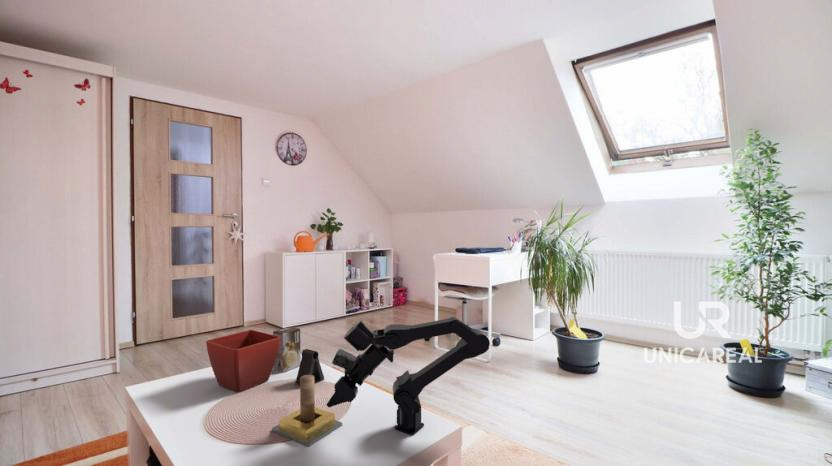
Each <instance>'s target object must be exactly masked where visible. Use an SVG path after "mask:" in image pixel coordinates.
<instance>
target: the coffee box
mask: <svg viewBox="0 0 832 466" xmlns="http://www.w3.org/2000/svg"><path fill="white" fill-rule="evenodd" d="M272 335H275V336H279V337H280V343H279V348H278V353H277V356H276V360H275V363H274V366H273V371H277V372H281V373H286V372H288V371H291V370H294V369H296V368H299V367H300V363H301V359H302V352H301V328H300V327H294V326H288V327H285V328H281V329H277V330H276V329H275V330H273V331H272Z"/></svg>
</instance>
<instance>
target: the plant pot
mask: <svg viewBox="0 0 832 466" xmlns="http://www.w3.org/2000/svg"><path fill="white" fill-rule="evenodd" d="M279 343H280V337H279V336H275V335H273V334H270V333H266V332H262V331H258V330H254V329H247V330H244V331H240V332H236V333H235V332H234V333H232V334H227V335H223V336H218V337H216V338H210V339H207V340H205V344H206V350H207V354H208V359H209V362H210V365H211V366H210V367H211V368H212V372H213V374H214V377H215V380H216V381H217V384H218V385H219V386H220V387H224V388H226V389H228V390H231V391H233V392H235V393H240V392H244V391H246V390H249V389H251V388H254V387H257V386H259V385H261V384H264V383H267V382H268V381H269V379H270V377H271V374H272V371H273V370H274V363H275V360H276V356H277V353H278V348H279Z"/></svg>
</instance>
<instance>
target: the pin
mask: <svg viewBox="0 0 832 466" xmlns="http://www.w3.org/2000/svg"><path fill="white" fill-rule="evenodd" d="M299 388H300V389H299V390H300V391H299V396H300V397H299V398H300V399H299V402H300V404H299V406H300V408H299V410H300V420H301V422H303V423H305V424H308V423H310V422H311V421H313V420H315V403H316V402H315V401H316V400H315V397H316V396H315V395H316V394H315V384H314V376H313V375H304V376H302V377H300V385H299Z"/></svg>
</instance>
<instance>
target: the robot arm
mask: <svg viewBox="0 0 832 466" xmlns="http://www.w3.org/2000/svg"><path fill="white" fill-rule="evenodd" d="M449 334H456V336H458V337H459V338H460V340H459V341H458V342H457V344H456V345H455V346H454V347H452V348H451V349H450V350H448V351H447V352H445V353H443V354H441V356H439V357H438V358H436V359H434V360H433V361H431V362H430V363H428V364H427V365H425V367H423V368H421V369H420V370H419V371H417V372H413V373H410V372H409V370H406V371H405V372H403V374H401V375H399V376H396V379H395V380H394V382H393V383H392V396H393V402H394V403H395V404H396V405H397V409H396V424H397V425H395V426H394V429H395V430H397V431H399V432H402V433H406V434H408V435H412V436H413V435H415V434H416V433H418V431H419V430H421V429H422V428H423V427H424V426H425V423H424V422H422V404H421V401H420V394H421V393H422V391H423V390H424V388H425V387H427V386H428V385H430V384H432V383H433V382H434V381H436V380H437V379H438V378H440V377H441V376H443V375H445V373H446V374H447V372H449V371H450V370H452V369H453V368H455V367H456V366H457V365H459V364H460V363H462V362H463V361H465V360H468V359H474V358H476V357H479V356H481V355H483V354H485V353H487V352H488V351H489V349H490V345H491V343H490V339H489V338H488V337H487V335H486V334H485V333H484V332H483V331H482V330H481V329H479V328H472V327H470V326H469V325H468V324H466V323H465V322H462V321H461V320H460V318H458V317H456V316H451V317H449V318H444V319H439V320H434V321H428V322H422V323H418V324H409V325H408V324H389V325H386V326H385V328H380V329H375V330H373V331H372V330H371V329H370V328H369V327H368V326H367V325H366V324H365V322H364V321H363V320H360V321H358V322H357V323H356V324H354V325H353V326H351V327H350V329H348V331H347V332H346V333H345V334H344V336H343V339H344V340H345V341H346V342H348V344H350V345H351V346H352V348H354V349H355V350H356V351H357V352H359V351H360V352H362V351H363V353H361V354H360V353H359V354H358V355H357V356H356V355H354V354H352V353H351V352H349V351H346V350H344V349H342V348H339V349H338V350H337V351H336V354H335V355H334V358H333V359H332V362H331V364H333V366H338V367H339V368H341V369H344V375H342V376H341V377H340V378H339V379H338V380H337V381H336V382H335V384H334V387H333V388H334V393H333V394H332V396H331V398H329V400H328V401H327V403H326V407H328V408H332V407H334V406H338V405H340V404H344V403H352V402H353V401H354V400H355V399H356V397H357V396H358V392H359V388H358V386H359V387H361V386H362V385H363V384H364V382H365V380H366V379H367V378H368V377H371V376H372V375H373V373H374V371H375V370H376V369H377V368H378V367H379V366H380V365H381V364H382V363H383V362H384V361H385V360H386V359H387V360H388V362H390V363H394V355H395V350H397V349H400V348H402V347H405V346H408V345H409V344H411V343H413V342H415V341H419V340H423V339H424V340H425V339H429V338H434V337H435V338H436V337H440V336H445V335H449ZM357 385H358V386H357Z"/></svg>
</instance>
